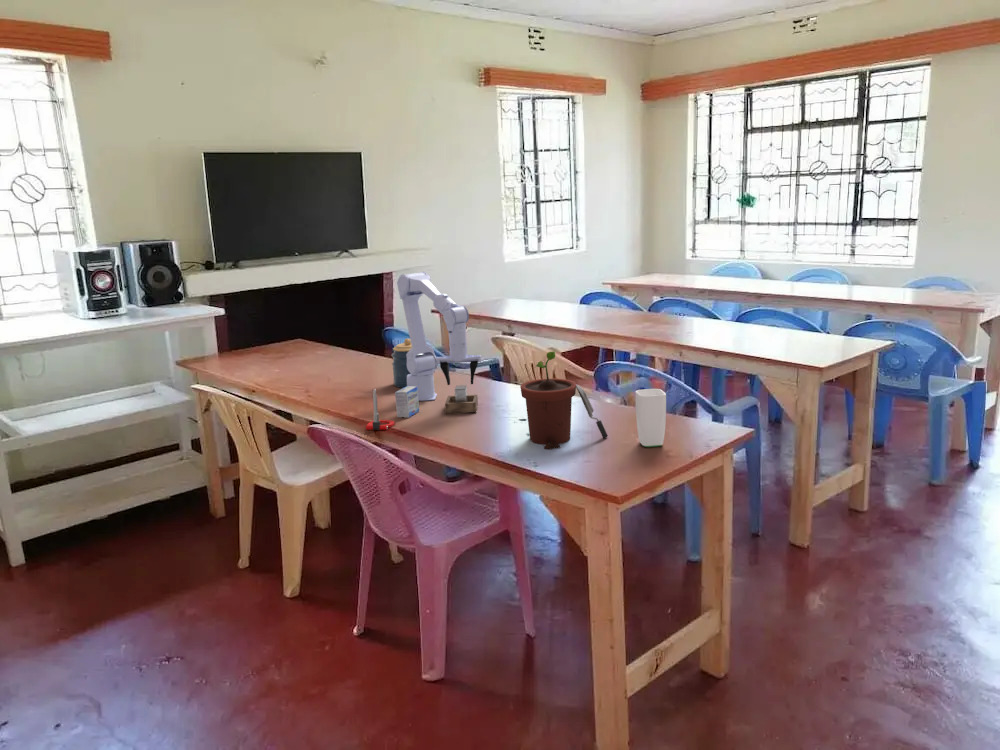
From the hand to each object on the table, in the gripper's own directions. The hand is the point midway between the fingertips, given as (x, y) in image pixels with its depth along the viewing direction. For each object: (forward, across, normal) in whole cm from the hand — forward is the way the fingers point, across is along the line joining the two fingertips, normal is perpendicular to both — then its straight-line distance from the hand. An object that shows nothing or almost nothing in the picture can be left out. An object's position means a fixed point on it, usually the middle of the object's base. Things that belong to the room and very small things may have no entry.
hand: (460, 383), depth 258 cm
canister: (+9, -22, +38) cm, 45 cm away
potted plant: (+9, +31, -36) cm, 48 cm away
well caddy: (+9, 0, 0) cm, 9 cm away
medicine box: (+9, -18, -4) cm, 20 cm away
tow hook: (+9, -24, -16) cm, 30 cm away
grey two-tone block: (+8, 0, 0) cm, 8 cm away
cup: (+9, +56, -44) cm, 71 cm away
